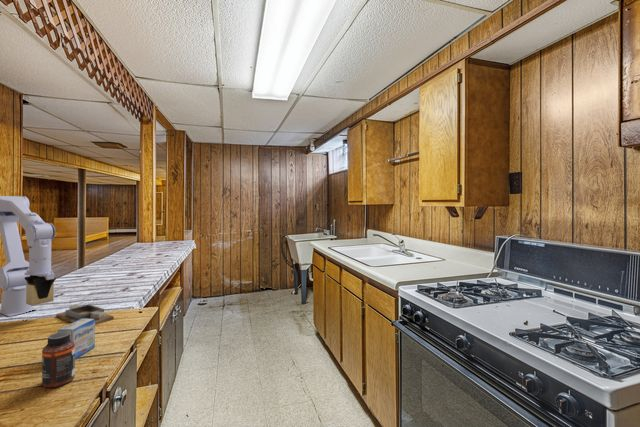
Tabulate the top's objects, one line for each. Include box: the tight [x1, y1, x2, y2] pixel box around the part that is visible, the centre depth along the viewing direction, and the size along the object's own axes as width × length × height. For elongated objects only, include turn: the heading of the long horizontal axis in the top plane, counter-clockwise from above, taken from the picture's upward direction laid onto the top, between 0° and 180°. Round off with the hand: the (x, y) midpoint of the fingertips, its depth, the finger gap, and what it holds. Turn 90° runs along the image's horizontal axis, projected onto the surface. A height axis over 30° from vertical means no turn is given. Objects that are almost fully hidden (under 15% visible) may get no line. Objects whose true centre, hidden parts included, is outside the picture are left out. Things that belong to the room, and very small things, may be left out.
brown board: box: [55, 303, 115, 326], centre depth 110 cm, size 19×9×3 cm, turn 64°
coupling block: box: [26, 281, 55, 307], centre depth 106 cm, size 4×6×7 cm, turn 154°
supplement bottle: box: [41, 332, 76, 389], centre depth 72 cm, size 6×6×11 cm
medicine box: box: [56, 319, 96, 360], centre depth 85 cm, size 8×4×9 cm, turn 179°
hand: (40, 296), depth 106 cm, fingers closed on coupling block, 4 cm apart
